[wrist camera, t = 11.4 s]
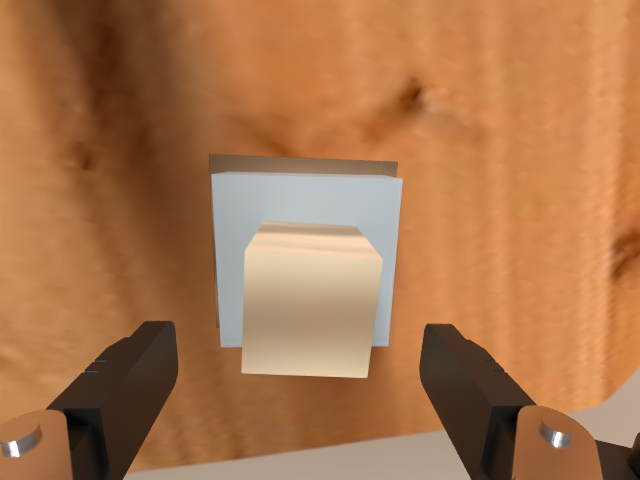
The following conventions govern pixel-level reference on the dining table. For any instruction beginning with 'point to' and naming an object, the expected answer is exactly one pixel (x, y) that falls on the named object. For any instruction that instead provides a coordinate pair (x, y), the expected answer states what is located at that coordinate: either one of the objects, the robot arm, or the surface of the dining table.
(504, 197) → the dining table surface
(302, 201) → the slate-blue block
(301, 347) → the maple block
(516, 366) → the dining table surface
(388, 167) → the walnut plinth block
